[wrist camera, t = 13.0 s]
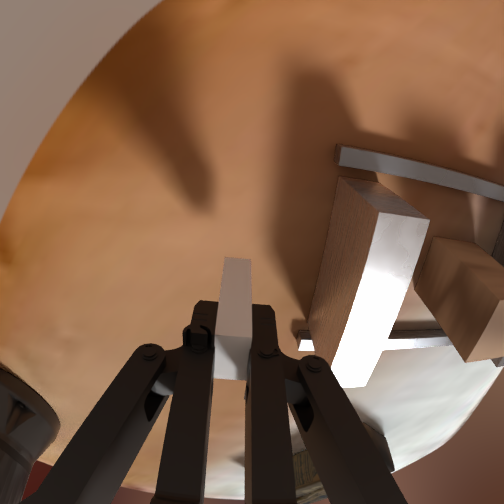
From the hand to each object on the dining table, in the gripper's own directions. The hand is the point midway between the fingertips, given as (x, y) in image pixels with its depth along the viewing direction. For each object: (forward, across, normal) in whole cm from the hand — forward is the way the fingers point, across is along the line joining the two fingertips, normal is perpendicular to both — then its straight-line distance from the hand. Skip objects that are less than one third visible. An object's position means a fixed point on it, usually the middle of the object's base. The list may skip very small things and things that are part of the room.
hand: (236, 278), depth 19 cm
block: (+4, +18, 0) cm, 18 cm away
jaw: (+4, +8, 0) cm, 9 cm away
